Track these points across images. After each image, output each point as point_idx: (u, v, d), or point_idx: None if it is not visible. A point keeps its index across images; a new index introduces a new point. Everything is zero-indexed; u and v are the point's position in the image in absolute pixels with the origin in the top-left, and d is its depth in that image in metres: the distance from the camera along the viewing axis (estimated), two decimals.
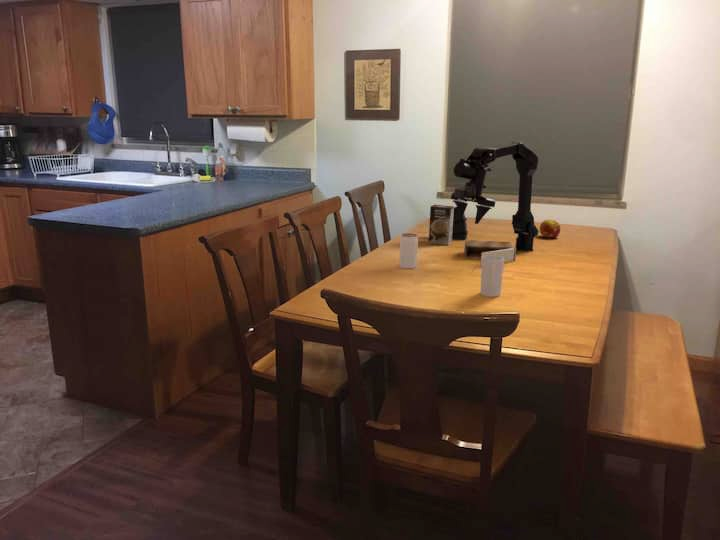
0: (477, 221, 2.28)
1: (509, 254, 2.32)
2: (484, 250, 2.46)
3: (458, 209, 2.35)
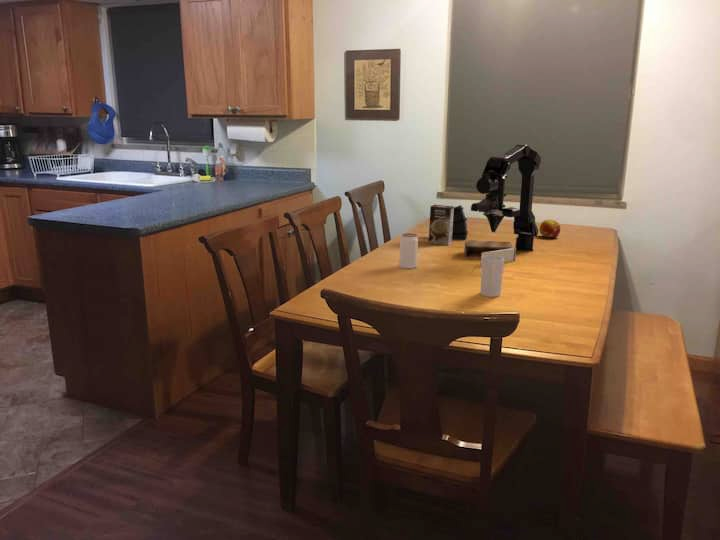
0: (494, 229, 2.30)
1: (509, 254, 2.32)
2: (484, 250, 2.46)
3: (490, 222, 2.29)
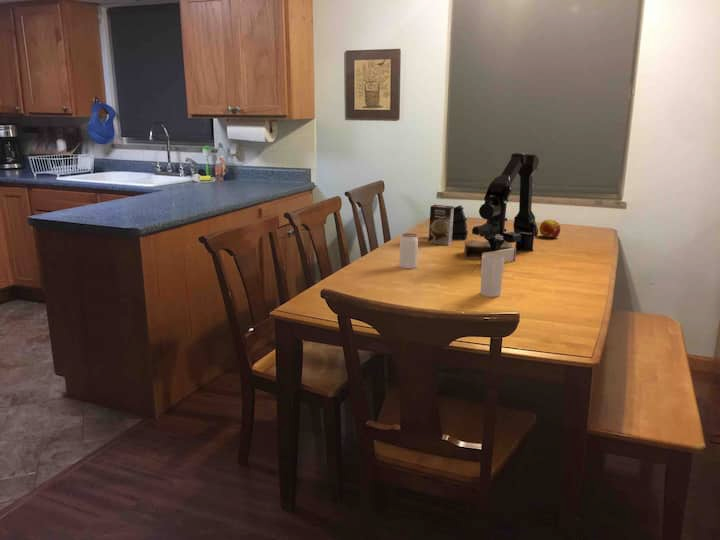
0: None
1: (509, 254, 2.32)
2: (484, 250, 2.46)
3: (491, 246, 2.30)
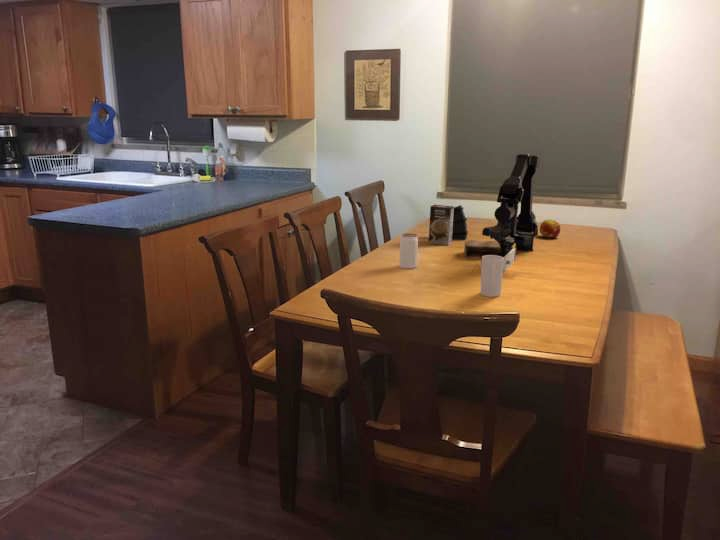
0: (505, 255, 2.27)
1: (513, 255, 2.32)
2: (484, 250, 2.46)
3: (502, 248, 2.26)
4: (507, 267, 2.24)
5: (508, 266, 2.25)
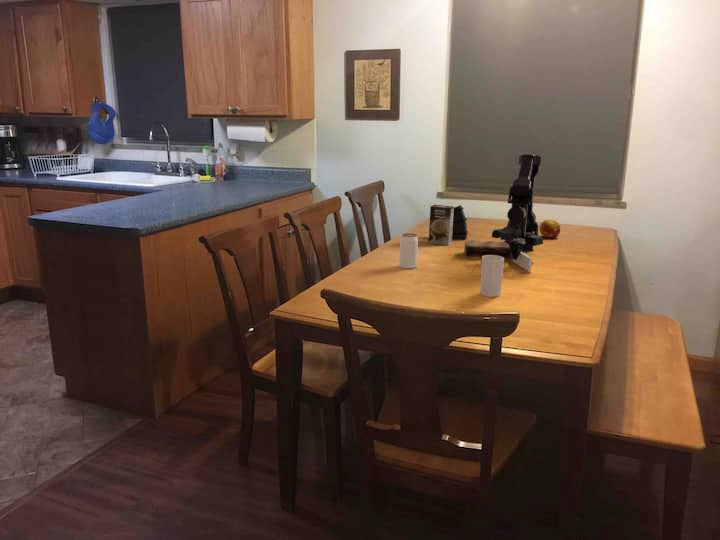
0: (516, 257, 2.26)
1: None
2: (484, 250, 2.46)
3: (512, 249, 2.25)
4: None
5: None
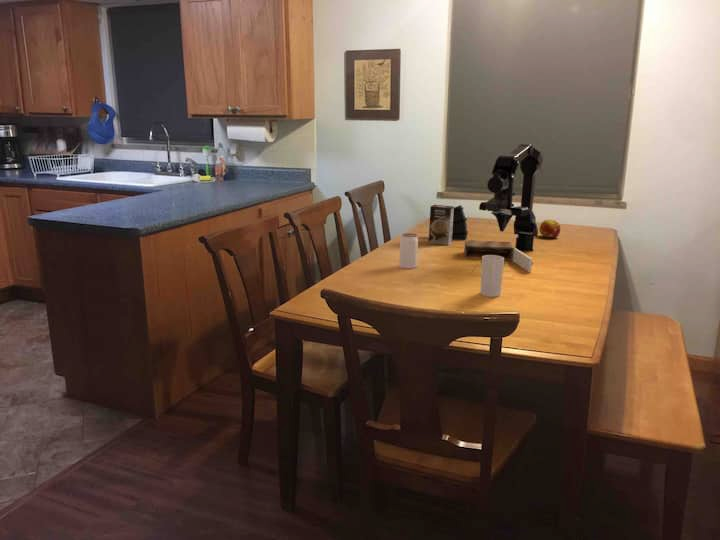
0: (503, 229, 2.29)
1: None
2: (484, 250, 2.46)
3: (499, 221, 2.28)
4: None
5: None
